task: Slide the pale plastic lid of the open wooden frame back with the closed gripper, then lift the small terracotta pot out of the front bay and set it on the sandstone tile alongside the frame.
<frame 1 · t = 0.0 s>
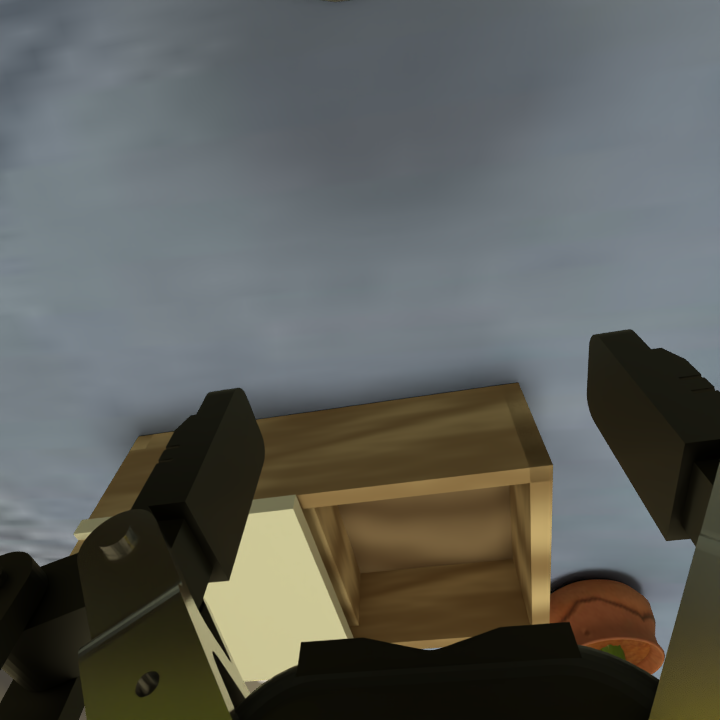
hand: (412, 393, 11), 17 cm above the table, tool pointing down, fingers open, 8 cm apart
potted flower: (584, 592, 45), on the table
lid: (232, 628, 32), point 10 cm above the table, slide at 0.0 cm
open wooden frame: (262, 507, 40), on the table
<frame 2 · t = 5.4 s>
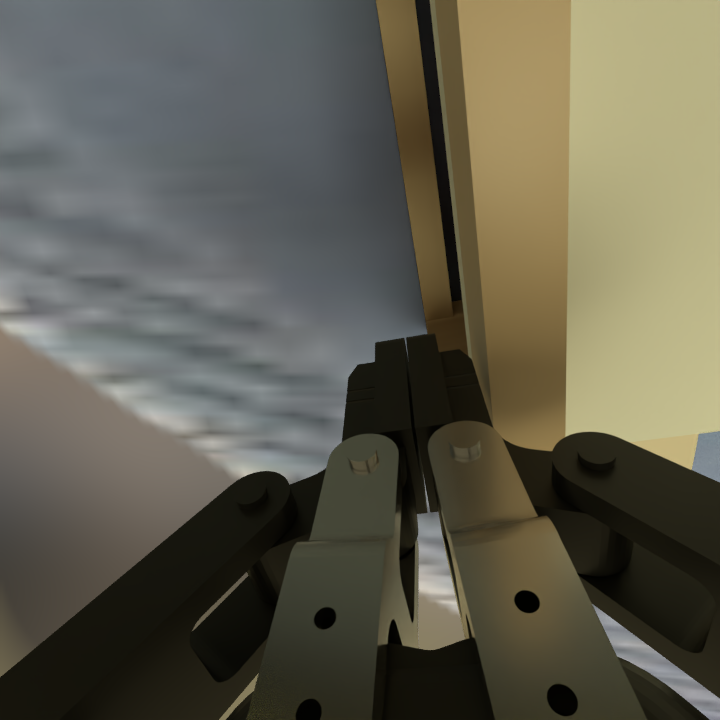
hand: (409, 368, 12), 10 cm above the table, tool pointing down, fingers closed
stone tile: (589, 409, 25), on the table
open wooden frame: (576, 78, 17), on the table
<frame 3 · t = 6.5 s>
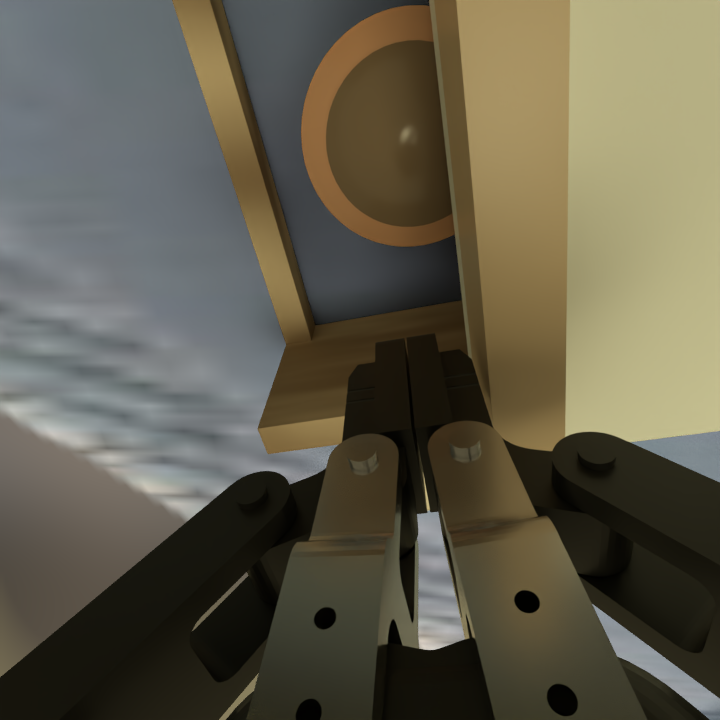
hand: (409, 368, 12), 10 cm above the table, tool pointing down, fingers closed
clay pot: (404, 127, 15), in the open wooden frame
open wooden frame: (401, 118, 18), on the table
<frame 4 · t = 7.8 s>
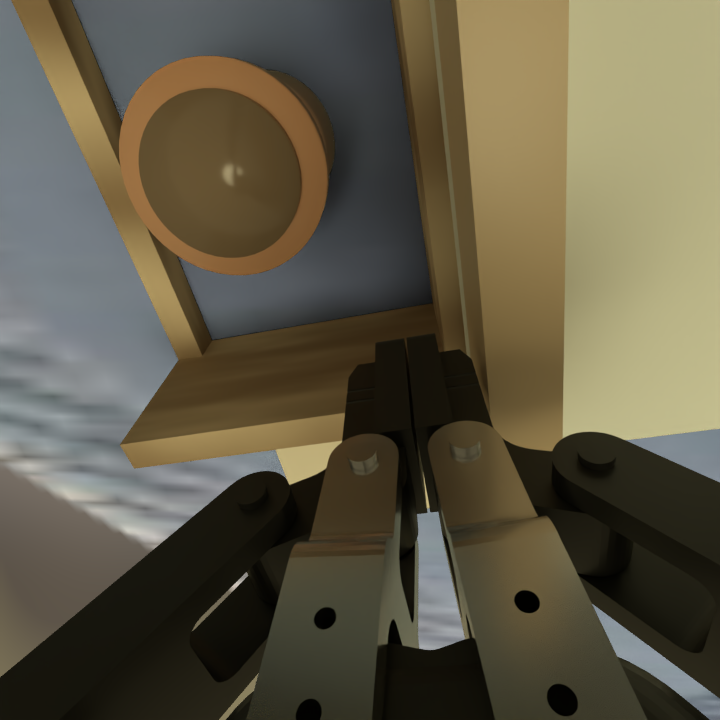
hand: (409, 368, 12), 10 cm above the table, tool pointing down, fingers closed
clay pot: (249, 159, 16), in the open wooden frame
stone tile: (369, 437, 27), on the table
open wooden frame: (269, 145, 19), on the table
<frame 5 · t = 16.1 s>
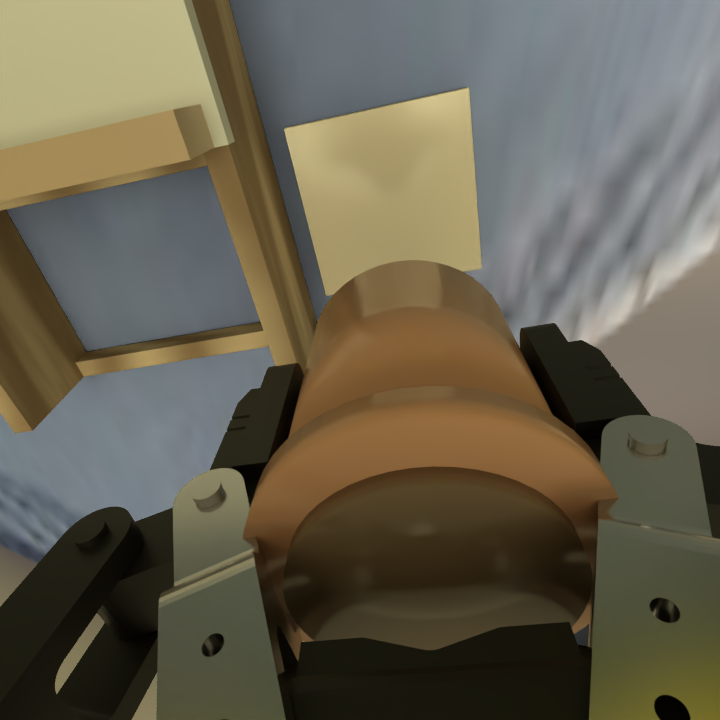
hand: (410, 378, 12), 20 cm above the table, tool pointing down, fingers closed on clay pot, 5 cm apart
clay pot: (418, 438, 10), point 22 cm above the table, touching gripper
stone tile: (389, 199, 29), on the table
open wooden frame: (157, 261, 31), on the table
when the fingers open (4 cm above the table, at t = 19.7 s): clay pot drops 1 cm, resting on stone tile.
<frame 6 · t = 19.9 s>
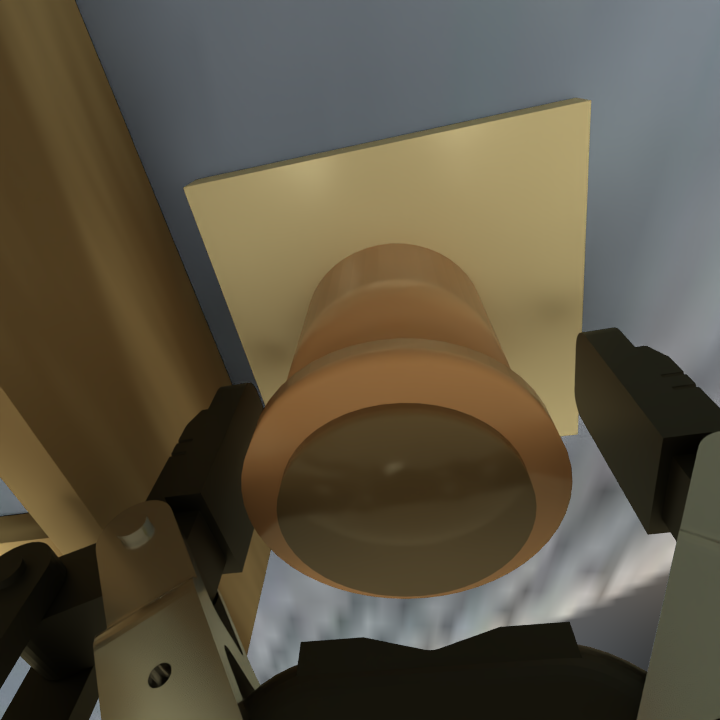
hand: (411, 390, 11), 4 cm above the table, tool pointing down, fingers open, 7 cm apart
clay pot: (398, 399, 11), on the stone tile, point 4 cm above the table
stone tile: (404, 312, 15), on the table
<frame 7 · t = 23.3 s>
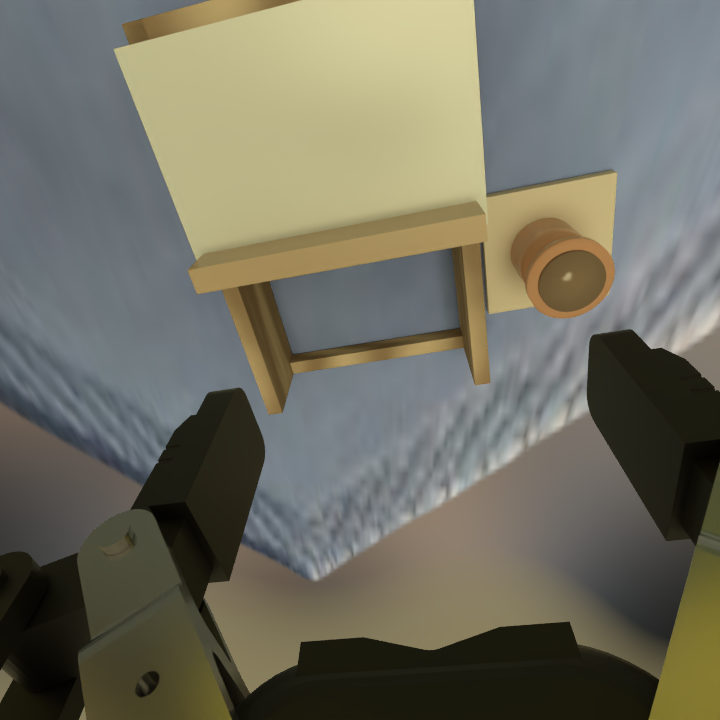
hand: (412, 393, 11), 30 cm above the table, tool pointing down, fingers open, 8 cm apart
clay pot: (556, 265, 36), on the stone tile, point 4 cm above the table
stone tile: (544, 245, 40), on the table
lid: (312, 145, 27), point 10 cm above the table, slide at 13.1 cm
open wooden frame: (362, 288, 42), on the table
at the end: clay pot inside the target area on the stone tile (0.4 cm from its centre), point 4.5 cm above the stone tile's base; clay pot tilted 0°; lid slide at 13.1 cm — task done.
